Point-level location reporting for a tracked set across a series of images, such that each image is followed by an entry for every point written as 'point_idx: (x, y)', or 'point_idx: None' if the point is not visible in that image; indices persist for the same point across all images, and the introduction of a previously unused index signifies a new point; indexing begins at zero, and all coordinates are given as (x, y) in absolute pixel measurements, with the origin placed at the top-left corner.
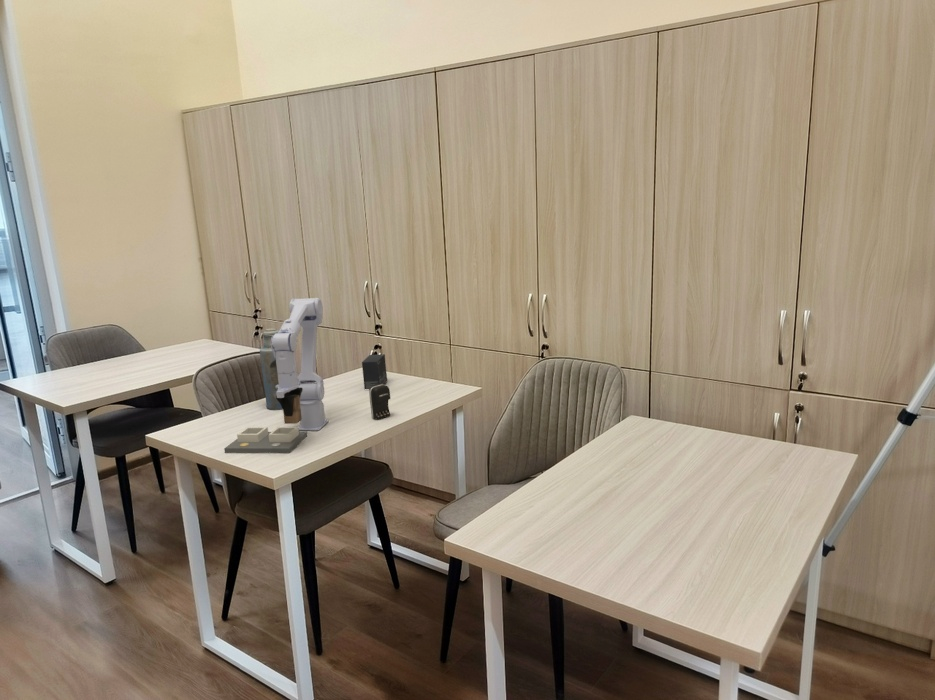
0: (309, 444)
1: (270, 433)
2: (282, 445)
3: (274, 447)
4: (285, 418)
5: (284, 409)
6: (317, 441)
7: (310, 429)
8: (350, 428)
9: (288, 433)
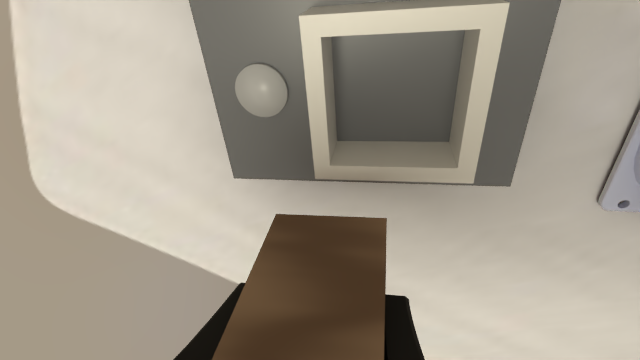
0: (364, 214)
1: (326, 21)
2: (266, 130)
3: (227, 96)
4: (264, 255)
5: (202, 349)
6: (405, 236)
7: (619, 163)
8: (583, 321)
9: (459, 96)
